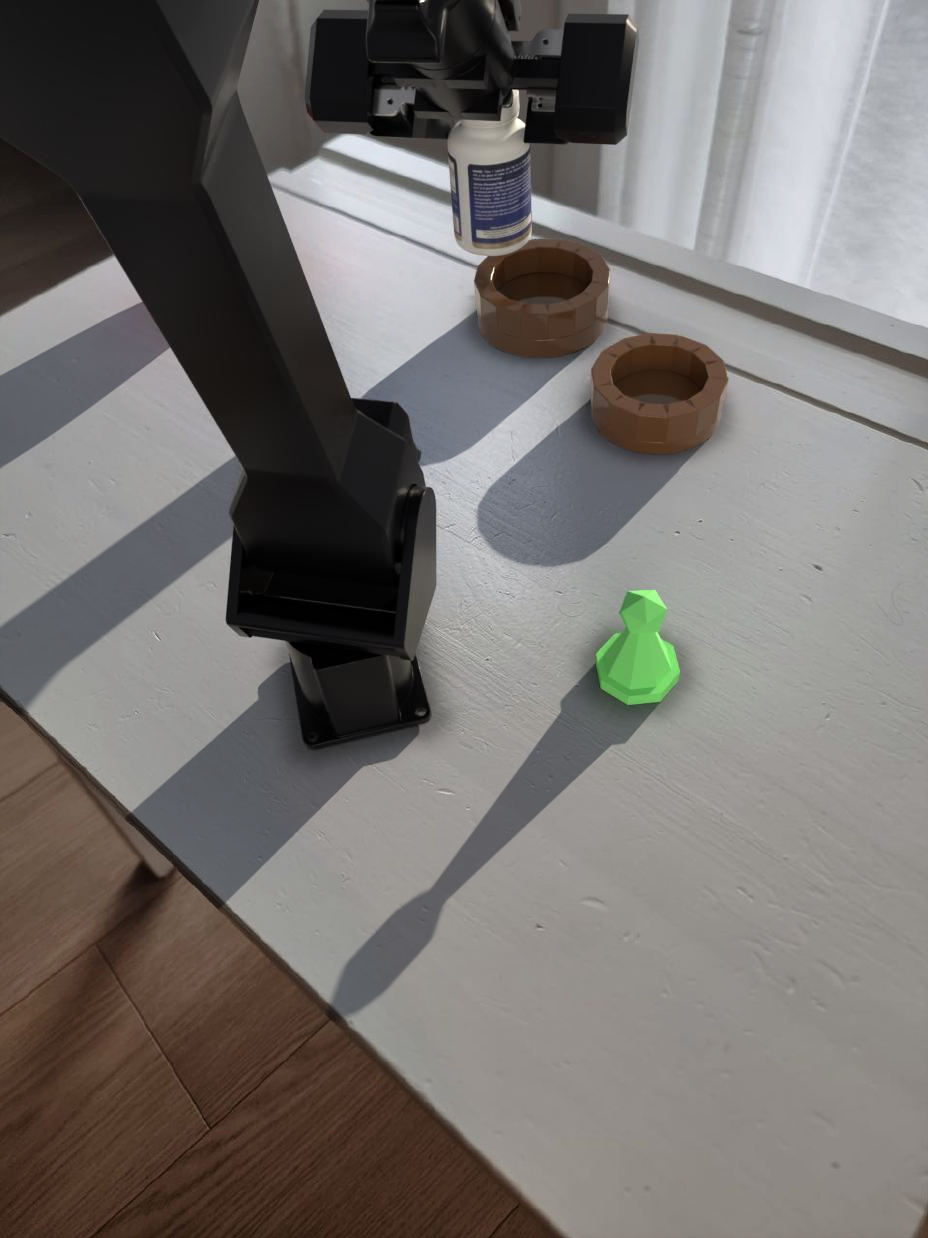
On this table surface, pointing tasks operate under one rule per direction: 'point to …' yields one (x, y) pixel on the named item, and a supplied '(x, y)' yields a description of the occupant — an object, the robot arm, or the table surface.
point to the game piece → (638, 653)
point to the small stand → (657, 393)
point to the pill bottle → (491, 183)
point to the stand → (543, 298)
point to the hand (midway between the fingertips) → (493, 133)
